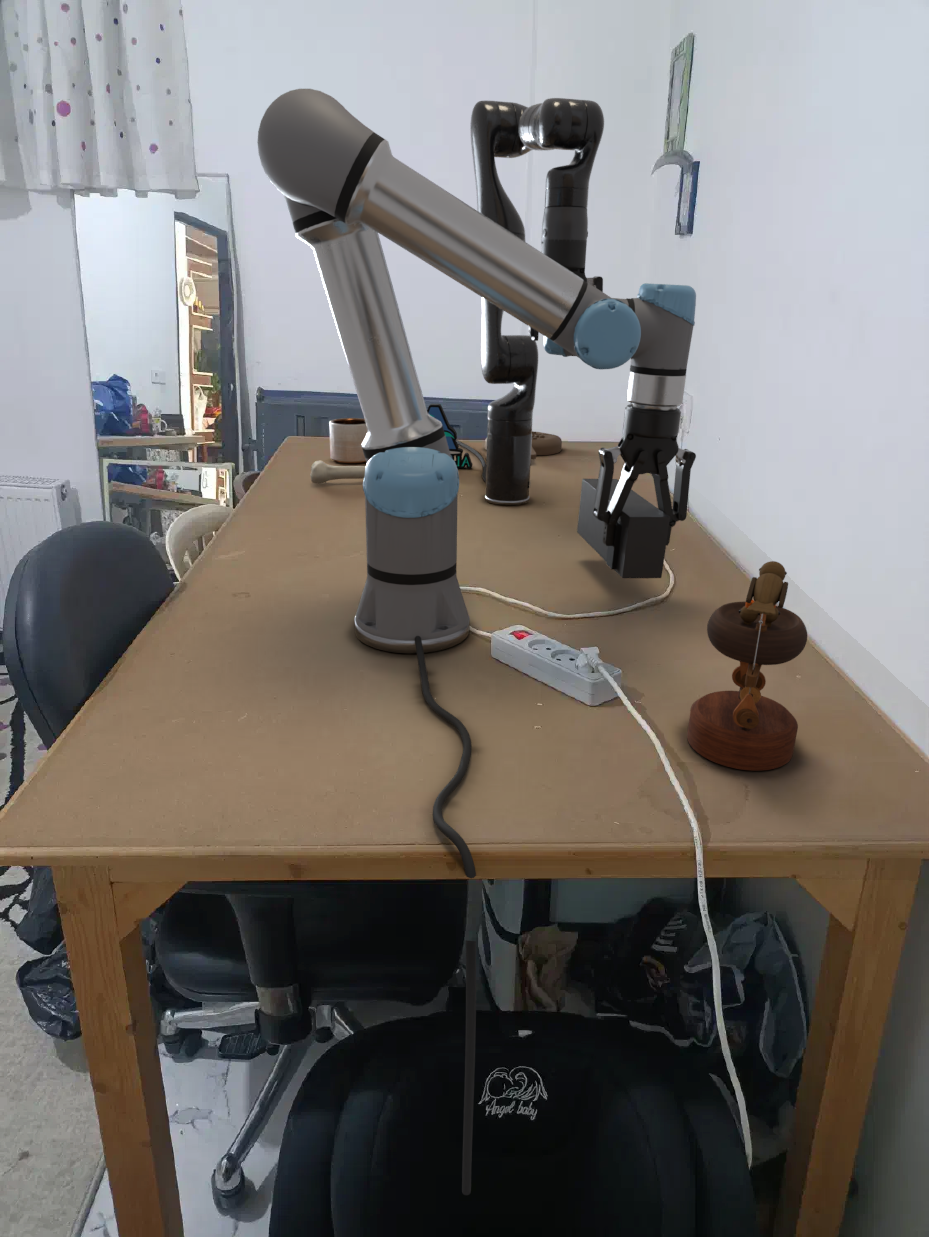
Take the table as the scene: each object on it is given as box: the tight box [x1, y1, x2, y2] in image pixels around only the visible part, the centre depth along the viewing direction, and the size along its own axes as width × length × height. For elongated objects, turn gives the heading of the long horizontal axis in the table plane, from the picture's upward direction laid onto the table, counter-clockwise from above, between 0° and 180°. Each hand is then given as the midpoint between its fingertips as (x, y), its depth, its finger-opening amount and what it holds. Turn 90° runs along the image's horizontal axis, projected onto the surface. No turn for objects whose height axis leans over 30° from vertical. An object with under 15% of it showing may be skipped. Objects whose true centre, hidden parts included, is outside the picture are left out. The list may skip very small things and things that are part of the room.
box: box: [576, 478, 670, 579], centre depth 129 cm, size 23×6×9 cm, turn 9°
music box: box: [686, 560, 808, 772], centre depth 84 cm, size 15×11×20 cm
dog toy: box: [309, 460, 366, 485], centre depth 190 cm, size 20×6×5 cm, turn 99°
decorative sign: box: [427, 403, 474, 469], centre depth 205 cm, size 19×2×15 cm, turn 86°
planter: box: [328, 417, 368, 464], centre depth 212 cm, size 11×11×10 cm
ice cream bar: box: [484, 431, 563, 460], centre depth 224 cm, size 21×28×4 cm
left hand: (632, 566), depth 124 cm, fingers closed on box, 6 cm apart
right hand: (558, 340), depth 147 cm, fingers open, 8 cm apart
